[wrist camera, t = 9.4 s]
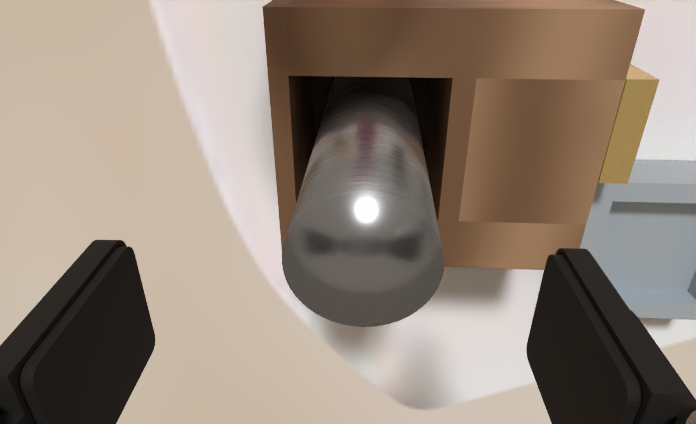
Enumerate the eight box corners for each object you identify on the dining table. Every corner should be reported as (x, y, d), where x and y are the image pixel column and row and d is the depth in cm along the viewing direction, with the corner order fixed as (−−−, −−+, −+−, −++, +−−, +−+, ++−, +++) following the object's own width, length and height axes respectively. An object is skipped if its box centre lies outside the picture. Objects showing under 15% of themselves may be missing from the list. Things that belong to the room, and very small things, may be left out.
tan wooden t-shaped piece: (616, 56, 22) (659, 79, 19) (592, 147, 25) (627, 183, 21) (454, 54, 23) (467, 77, 19) (445, 144, 25) (455, 179, 22)
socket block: (570, -14, 22) (645, 9, 16) (529, 192, 27) (573, 270, 20) (294, -15, 22) (262, 6, 16) (304, 187, 27) (282, 261, 21)
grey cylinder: (414, 55, 23) (451, 196, 11) (410, 136, 25) (436, 329, 13) (329, 55, 24) (275, 192, 12) (331, 135, 26) (287, 324, 14)
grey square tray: (738, 161, 25) (775, 186, 23) (686, 288, 29) (713, 320, 27) (576, 158, 25) (596, 181, 23) (545, 284, 29) (560, 314, 27)
